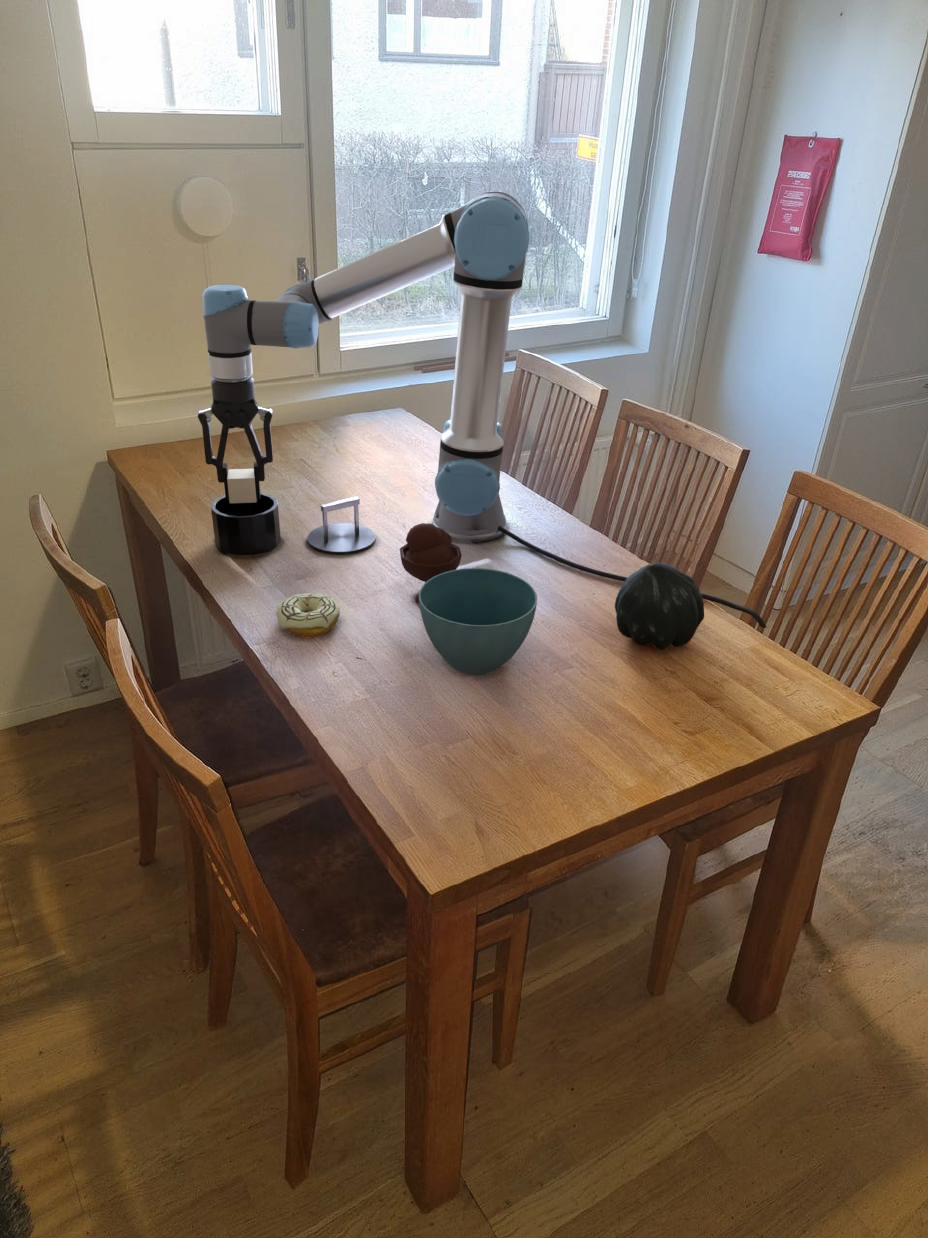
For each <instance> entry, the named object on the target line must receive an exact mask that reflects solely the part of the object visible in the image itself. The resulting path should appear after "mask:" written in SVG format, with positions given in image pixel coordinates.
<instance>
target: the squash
mask: <svg viewBox="0 0 928 1238" xmlns="http://www.w3.org/2000/svg"><path fill="white" fill-rule="evenodd" d="M700 593H701V591H700V588H699V584H698V583H697V582H696V580H695V579H693V577H691V576H689V575H687V574H686V573H684V572H683V571H681V570H679V569H678V568H677V567H675V566H673V565H672V564H669V563H665V562H653V563H648V564H647V565H644V566H642V567H640V568H639V569H638V570H636V571H634V572H632V573H631V574H630V575H629V576H628V578H627V579H626V580H625V581H624V582H623V583H622V585H621V588H620V589H619V591H618V593H617V595H616V597H615V601H614V610H615V614H616V615H615V619H616V627H617V629H618V630H617V631H618V632H619V633H620V634H621V635H622V636H624V637H625V638H628V639H632V642H633V643H634V644H636V645H637V646H642V647H643V646H644V647H645V646H649V645H650V644H651V645H652V646H653V647H654V648H655V649H657V650H660V651H664V650H666V649H668V648H670V647H671V646H672V647H675V648H679V647H683V646H686V645H687V644H688V643H690V641H691V640H692V639H693V637H695V634H696V631H697V629H698V627H699V626H700V624H701V623H702V622H703V620H704V619H705V603H704V599H702V596H701V594H700Z"/></svg>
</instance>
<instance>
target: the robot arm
mask: <svg viewBox="0 0 928 1238" xmlns="http://www.w3.org/2000/svg"><path fill="white" fill-rule="evenodd" d="M528 223H529V222H528V217H527V214H526V212H525V209H524V208H523V206H522V205H521V203H520V202H519V201H518V200H517V199H516V198H515V197H514V196H512V195H510V194H509V193H506V192H504V191H499V190H490V191H486V192H482V193H480V194H478V195H476V196H475V197H474V198H472V199H471V200H470V201H468V202H467V203H465V204H463V205H462V206H460V207H458V208H456V209H454V210H452V211H450V212H448V213H446V214H443V215H442V217H441V219H440V221H439V223H438V224H436V225H434V226H431V227H430V228H426V229H424V230H422V231H420V232H418V233H415V234H412V235H411V236H409V237H407V238H404V239H402V240H400V241H397V242H395V243H393V244H390V245H388V246H386V247H383V248H381V249H379V250H376V251H375V252H372V253H370V254H368V255H365V256H363V257H361V258H359V259H356V260H354V261H352V262H349V263H347V264H345V265H343V266H341V267H338V268H336V269H334V270H331V271H329V272H326V273H324V274H322V275H320V276H318V277H315V278H314V279H312V280H309V281H305V283H300V284H296V285H293V286H291V287H289V288H287V289H286V291H285V292H284V293H283V294H282V295H280V297H278V298H277V299H276V300H254V299H249V296H248V295H247V291H246V289H245V288H244V287H243V286H240V285H233V284H218V285H216V284H215V285H211V286H208V287H207V288H205V289H204V291H203V293H202V307H203V315H202V316H203V321H204V329H205V330H204V331H205V336H206V344H207V345H206V347H207V358H208V367H209V375H210V377H211V380H210V385H211V395H212V404H211V406H210V408H206V409H202V408H201V409H199V410H198V413H197V418H198V421H199V423H200V425H201V429H202V439H203V448H204V450H203V451H204V460H205V464H206V465H211V466H214V467H215V468H216V477H217V481H218V483H219V484H221V483H223V486H224V494H225V495H224V496H225V497H226V500H229V492H228V482H227V477H228V469H229V466H228V462H224V458H225V454H226V448H227V442H228V436H229V430H232V429H243V430H244V433H245V434H246V437H247V440H248V443H249V446H250V448H251V451H252V454H253V457H254V460H255V461H253V469H254V477H255V488H256V499H260V495H261V493H262V492H261V483H260V482H265V479H266V470H265V465H267V464H271V463H273V462H274V451H273V440H272V439H273V438H272V429H271V423H272V418H273V409H272V408H270V407H267V408H264V407H261V406H260V405H259V404H258V402H257V401H256V400H257V399H256V393H255V382H254V381H255V379H254V378H253V377H252V376H253V375H254V370H253V358H252V356H253V355H252V347H251V346H263V347H277V348H278V347H280V348H291V349H301V348H303V349H305V348H313V347H315V345H316V344H317V342H318V338H319V332H320V331H319V329H320V324H324V323H326V322H327V321H329V320H331V319H335V318H336V317H338V316H340V315H343V314H345V313H348V312H350V311H353V310H355V309H357V308H359V307H362V306H364V305H367V304H369V303H371V302H374V301H376V300H379V299H381V298H384V297H386V296H388V295H391V294H393V293H395V292H398V291H400V290H402V289H405V288H408V287H411V286H412V285H414V284H417V283H419V282H422V281H424V280H427V279H428V278H431V277H434V276H436V275H439V274H441V273H443V272H446V271H448V270H450V269H453V278H452V280H453V283H454V284H455V286H456V287H457V288H458V290H459V291H460V304H459V315H458V324H457V325H458V326H457V337H456V350H455V361H454V362H455V363H454V372H453V373H454V375H453V386H452V397H451V398H452V399H451V408H450V419H448V420H446V421H445V423H444V425H443V431H442V433H441V434H440V443H439V452H438V467H437V473H436V476H435V478H434V488H435V492H436V496H437V498H438V503H437V506H436V508H435V511H434V514H433V518H432V524H433V525H434V526H436V527H439V528H441V529H443V530H444V531H445V532H447V533H448V534H449V535H450V536H451V537H452V540H459V541H466V542H467V541H468V542H469V541H470V542H471V543H480V542H487V541H491V540H495V539H497V538H500V537H501V536H502V535H503V534H504V535H506V536H507V537H509V538H511V539H512V540H514V541H516V542H517V543H519V544H521V545H523V546H525V547H527V548H528V549H530V550H531V551H534V552H536V553H538V554H541V555H543V556H544V557H547V558H549V559H551V560H555V561H556V562H559V563H561V564H563V565H566V566H568V567H570V568H574V569H576V570H579V571H582V572H586V573H589V574H592V575H595V576H598V577H603V578H607V579H611V580H614V581H619V582H623V583H624V581H625V580H626V579H627V578H628V577H629V576H628V577H627V576H623V575H618V574H614V573H609V572H606V571H602V570H598V569H594V568H591V567H589V566H585V565H581V564H579V563H576V562H573V561H571V560H568V559H565V558H563V557H561V556H559V555H557V554H554V553H552V552H550V551H548V550H546V549H543V548H541V547H538V546H536V545H535V544H533V543H531V542H529V541H527V540H525V539H523V538H521V537H520V536H518V535H516V534H515V533H514V532H512V531H510V530H508V529H506V526H507V517H506V515H505V512H504V508H503V504H502V500H501V497H500V490H501V484H500V476H501V467H502V462H503V461H502V459H503V451H504V439H503V438H504V435H503V426H502V424H501V423H500V422H499V413H500V406H501V405H500V404H501V396H502V386H503V378H504V369H505V360H506V351H507V342H508V333H509V326H510V325H509V324H510V316H511V306H512V298H513V297H514V296H515V295H516V294H517V293H518V292H519V291H520V290H522V289H523V280H524V271H525V265H526V263H525V262H526V255H527V252H528V249H529V244H530V230H529V224H528ZM257 414H258V415H259V419H260V420H261V421H262V422H263V425H262V426H263V428H262V429H263V437H264V438H263V439H264V447H265V454H263V452H262V449H261V447H260V444H259V442H258V439H257V436H256V433H255V430H254V427H253V423H252V422H253V420H254V419H255V417H256V416H257ZM212 416H214V417H215V418H216V419H217V420H218V421H219V422H220V424H221V425H222V426H221V431H220V437H219V443H218V448H217V455H216V456H215V455H214V454H213V443H212V432H211V431H212V430H211V423H210V422H211V421H212ZM700 594H701V596H702V599H703V600H707V601H710V602H713V603H716V604H720V605H723V606H726V607H728V608H731V609H733V610H736V611H740V612H743V613H745V614H747V615H750V616H751V617H752V618H753V619H754V620H755V621H756V622H757V623H758V625H759V626H760V628H763V629H766V628H767V625H766V622H765V620H763V618H762V617H761V615H759V613H757V612H756V611H755V610H754V609H751V608H749V607H747V606H743V605H740V604H738V603H734V602H731V601H729V600H726V599H723V598H720V597H717V596H714V595H710V594H707V593H703V592H700Z"/></svg>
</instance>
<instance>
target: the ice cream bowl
mask: <svg viewBox="0 0 928 1238" xmlns="http://www.w3.org/2000/svg"><path fill="white" fill-rule="evenodd" d="M405 542H406V543H405V544H404V545H403V546H401V547H399V556H400V561H401V565H402V567H403V569H404V571H406V572H407V573H408V574H409V575H410V576H412V577H413V578H415V579H417V580H418V581H421V582H424V584H425V583H426V582H427V581H428V580H429V579H431V578H433V577H435V576H437V575H439V574H441V573H444V572H448V571H452V570H457V569H459V566H460V564H461V560H462V551H461V547H460V546H458V545H456V544H455V543H453V538H452V537H451V536H450V535H449V534H448V533H447V532H445V531H444V530H443V529H441V528H439V527H436V526H434V525H433V523H430V522H427V523H425V522H421V523H418V524H415V525H413V526H412V527H411V528H410V529H409V531H408V532H407V534H406V538H405ZM414 601H415V603H416V604H418V605H420V604H419V592H417V593H416V594H415V596H414Z"/></svg>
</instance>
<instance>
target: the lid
mask: <svg viewBox="0 0 928 1238" xmlns="http://www.w3.org/2000/svg"><path fill="white" fill-rule="evenodd" d="M360 500H361V499H360V498H359V497H358V496H353V497H349V498H345V499H340V500H336V501H331V502H327V503H322V504H320V511H321V512H322V513H321V514H322V515H321V516H322V525H321V526H319V527H316V528H314V529H312V530H311V531H310V532H309V533H308V535H307V544H308V546H309V547H310V548H312V549H313V550H315V551H317V552H319V553H323V554H329V555H336V556H337V555H340V556H341V555H352V554H357V553H361V552H365V551H366V550H368V549H370V548H371V547H373V546H374V545H375V543H376V539H377V536H376V533H375V532H374V530H372V529H371V528H369V527H367V526H365V525H362V524H360V513H359V511H360V510H359V508H360V507H359V506H360V505H361V504H360V503H361V501H360ZM351 507H353V515H354V516H353V520H354V521H353V522H354V523H351V522H336V523H335V522H334V523H329V524H328V512H334V511H337V510H342V509H347V508H351Z"/></svg>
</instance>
